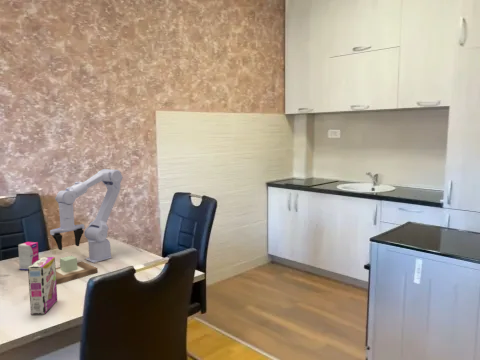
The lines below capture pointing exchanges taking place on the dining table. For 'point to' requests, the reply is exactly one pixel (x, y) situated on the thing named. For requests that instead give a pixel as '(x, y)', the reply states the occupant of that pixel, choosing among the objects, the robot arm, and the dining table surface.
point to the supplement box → (28, 254)
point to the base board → (75, 272)
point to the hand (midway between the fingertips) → (69, 247)
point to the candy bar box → (42, 285)
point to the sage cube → (68, 263)
